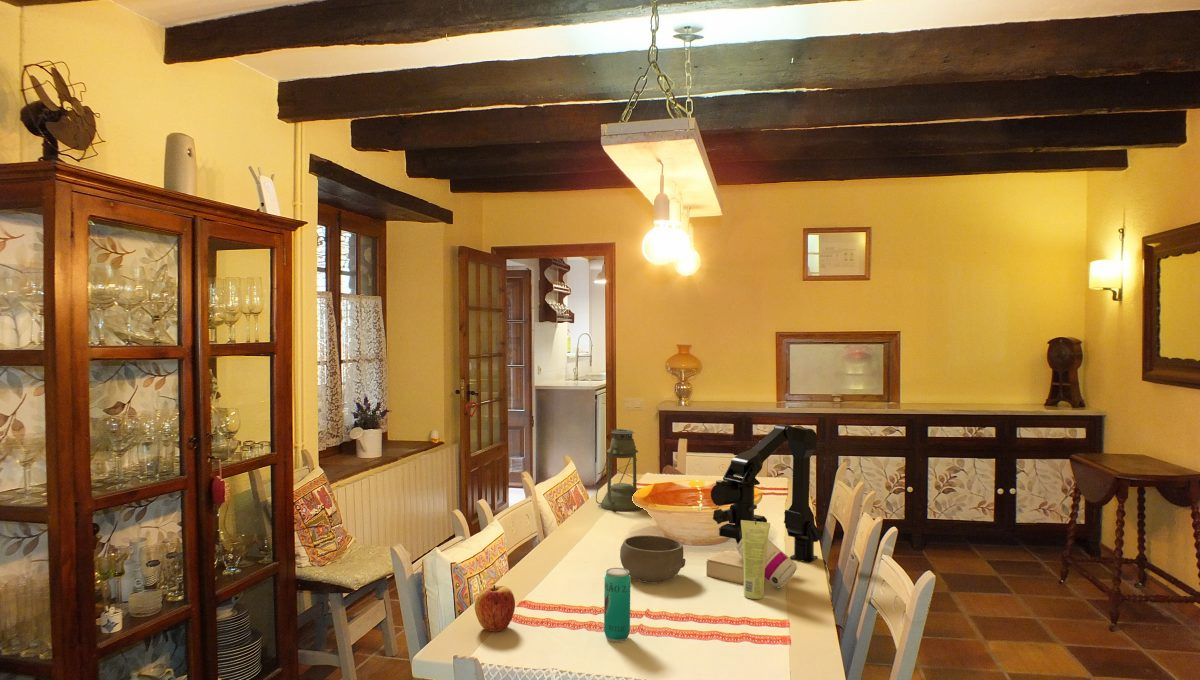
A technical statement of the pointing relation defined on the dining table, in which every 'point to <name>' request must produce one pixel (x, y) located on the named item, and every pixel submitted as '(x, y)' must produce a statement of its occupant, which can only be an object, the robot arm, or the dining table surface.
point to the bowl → (652, 558)
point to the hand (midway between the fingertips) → (743, 556)
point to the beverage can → (617, 604)
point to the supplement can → (775, 565)
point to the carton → (726, 568)
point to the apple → (495, 607)
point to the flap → (731, 554)
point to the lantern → (622, 492)
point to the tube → (754, 557)
